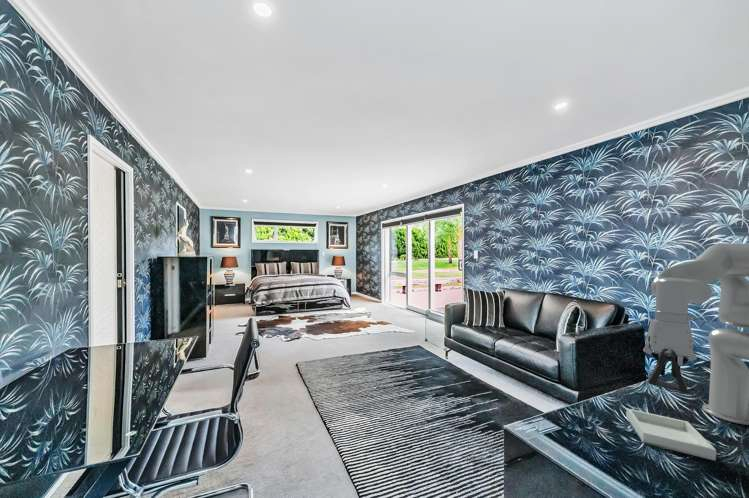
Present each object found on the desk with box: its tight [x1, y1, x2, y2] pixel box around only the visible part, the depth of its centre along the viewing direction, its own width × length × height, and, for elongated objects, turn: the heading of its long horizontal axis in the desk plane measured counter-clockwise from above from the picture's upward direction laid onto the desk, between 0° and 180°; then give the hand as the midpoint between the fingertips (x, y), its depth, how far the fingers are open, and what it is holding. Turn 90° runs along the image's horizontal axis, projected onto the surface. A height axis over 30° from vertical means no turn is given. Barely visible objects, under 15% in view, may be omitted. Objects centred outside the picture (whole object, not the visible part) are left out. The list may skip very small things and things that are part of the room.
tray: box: [625, 408, 717, 461], centre depth 98 cm, size 16×17×3 cm
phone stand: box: [647, 349, 689, 394], centre depth 98 cm, size 9×6×12 cm, turn 48°
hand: (667, 375), depth 98 cm, fingers closed on phone stand, 2 cm apart
